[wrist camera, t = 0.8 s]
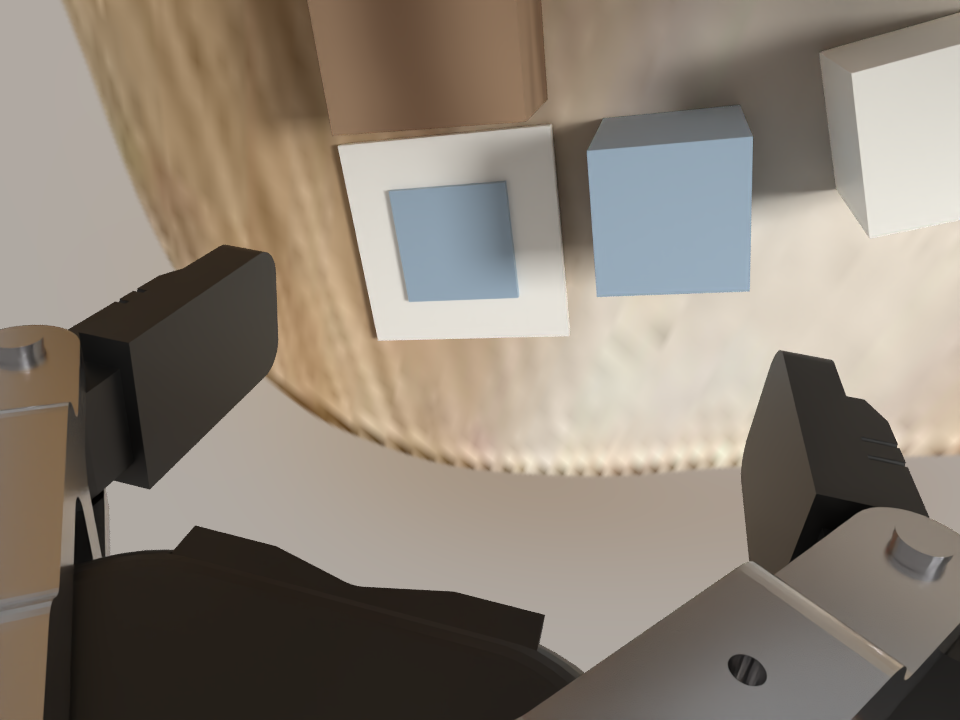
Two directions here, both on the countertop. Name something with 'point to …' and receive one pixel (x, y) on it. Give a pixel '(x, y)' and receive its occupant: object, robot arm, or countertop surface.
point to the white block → (897, 126)
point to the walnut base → (428, 62)
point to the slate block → (672, 202)
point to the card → (460, 234)
